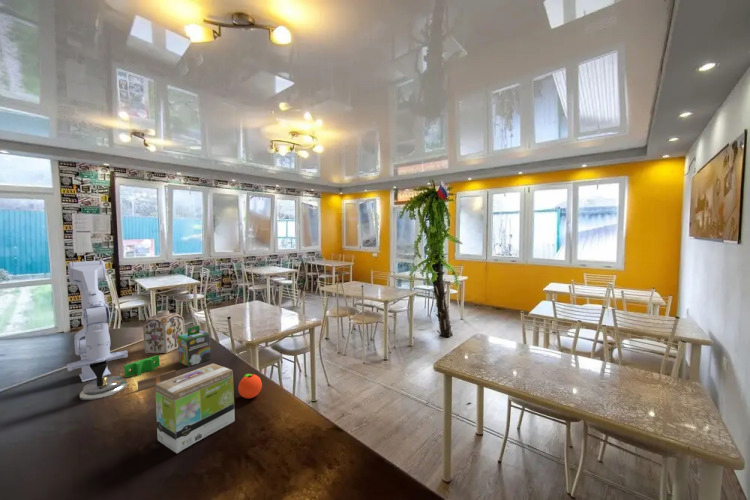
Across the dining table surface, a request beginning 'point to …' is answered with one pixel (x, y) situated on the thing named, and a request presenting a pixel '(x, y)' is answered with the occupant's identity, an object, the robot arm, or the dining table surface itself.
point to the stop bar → (155, 380)
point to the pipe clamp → (141, 366)
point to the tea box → (194, 406)
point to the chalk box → (194, 347)
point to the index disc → (108, 385)
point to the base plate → (104, 394)
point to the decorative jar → (162, 332)
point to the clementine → (250, 386)
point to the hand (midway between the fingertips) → (100, 385)
